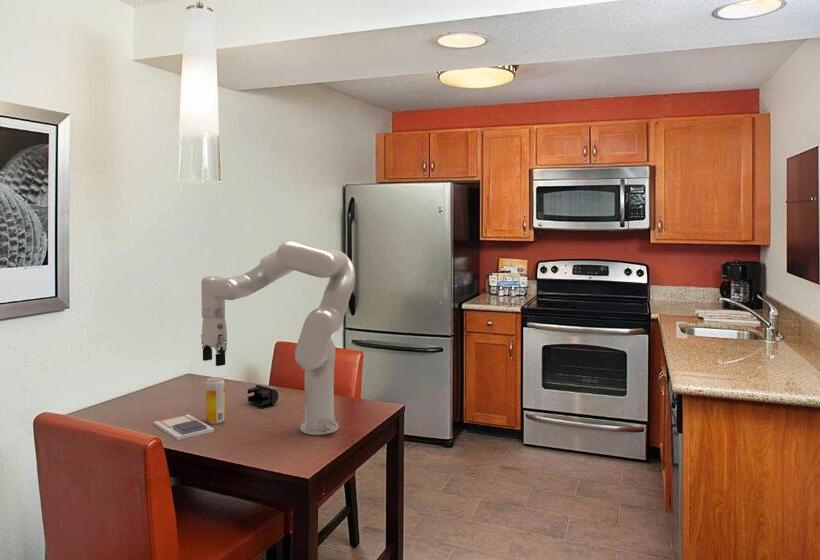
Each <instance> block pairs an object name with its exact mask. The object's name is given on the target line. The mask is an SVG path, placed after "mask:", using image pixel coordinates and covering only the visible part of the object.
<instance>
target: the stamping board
mask: <svg viewBox="0 0 820 560" xmlns="http://www.w3.org/2000/svg"><path fill="white" fill-rule="evenodd" d="M153 425H154V426H155V427H157V428H158V429H159V430H161V431H163V432H164V433H166V434H167V435H169V436H170V437H172V438H174V439H175V440H176V441H180V440H185V439H188V438H192V437H193V438H194V437H197V436H201V435H206V434H209V433H210V434H211V433H214V432H215V428H214V427H212V426H210V425H208V424H207V423H204V422H203V421H201V420H199V419H197V418H196V417H194V416H192V415H191V414H183V415H180V416H173V417H169V418H165V419H164V418H163V419H161V420H156V421H153Z"/></svg>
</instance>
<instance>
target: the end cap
mask: <svg viewBox="0 0 820 560" xmlns="http://www.w3.org/2000/svg"><path fill="white" fill-rule="evenodd" d="M252 393H253V394H252ZM247 394H252V395H249V396H247V401H248V404H249V406H252V407H254V408H258V409H261V410H265V408H266V409H269V408H272V407H274V405H275V404H276V403H277V402H278V401H279V393H278V391H277V390H276V389H274V388H271V387H267V386H264V385H260V384H255V387H251V388H248V389H247Z"/></svg>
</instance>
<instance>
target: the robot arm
mask: <svg viewBox="0 0 820 560" xmlns="http://www.w3.org/2000/svg"><path fill="white" fill-rule="evenodd" d="M259 261H260V262H259V264H258V265H256V266H255V267H254V268H252V269H250V270H248V271H246V272H244V273H243V274H241V275H236V276H231V277H225V278H224V277H222V276H216V275H215V276H212V275H210V276H204V277H202V279H201V318H202V325H201V327H202V328H201V334H200V338H201V345H202V346H201V348H202V361H203V362H205V361H212V360H213V348H214V349H215V353H216V354H215V367H222V366H225V365H226V353H227V348H228V347H227V345H228V333H227V331H228V330H227V322H226V301H234V300H238V299H242V298H246V297H249V296H250V295H252V294H254V293H256V292H258V291H260V290H262V289H264V288H265V287H267V286H268V285H270V284H272V283H274V282H275V281H277V280H279V279H280V278H283V277H285V276H286V275H288V274H290V273H292V272H294V271H296V272H299V273H302V274H306V275H309V276H311V277H312V276H313V277H317V278H320V279H327V278H328V279H329V280H328V283H327V284H326V286H325V289H324V292H323V296H322V297H321V302H320V304H319V306H318V307H316V308H315V309H313V310H311V311H310V312H309V313H308V314H307V316H306V318H305V320H304V322H303V325H302V327H301V331H300V334H299V338H298V340H297V343H296V347H295V351H294V359H295V362H296V364H297V365H298V366H299V368H301V369H302V370H304V422H303V423H302V424H301V425H300V427H299V430H300V431H301V433H303V434H305V435H310V436H322V435H323V436H324V435H330V434H333V433H335V432H337V431H338V430H339V423H338V422H336V418H335V415H334V413H335V412H334V411H335V409H334V408H335V407H334V405H335V403H334V402H335V398H334V397H335V395H334V393H335V392H334V388H335V387H334V386H335V385H334V382H335V379H334V378H335V376H334V374H335V361H336V346H335V343H334V340H333V339H332V335H333V334H336V333H337V332H338V331H339V330H340V329H341V327H342V325H343V321H344V317H345V315H346V311H347V309H348V305H349V302H350V299H351V296H352V292H353V289H354V286H355V282H356V271H355V267H354V264H353V262H352V260H351V259H350V258H349V257H348V255H347V254H346V253H344V252H343V251H341V250H339V249H325V250H322V249H319V248H314V247H311V246H310V245H309V244H308V242H307V241H304V240H301V239H295V240H286V241H285V242H282V243H281V244H280V245H279V247H278V248H277V249H276V250H274V251H273V252H270V253H269V254H267V255H266V256H263V257H262V258H261V259H260V260H259Z"/></svg>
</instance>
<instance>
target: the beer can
mask: <svg viewBox="0 0 820 560" xmlns="http://www.w3.org/2000/svg"><path fill="white" fill-rule="evenodd" d="M225 388H226V387H225V380H224V377H222V376H220V377H219V376H212V377H209V378H207V379H206V382H205V398H206V399H205V401H206V402H205V403H206V404H205V405H206V410H205V411H206V421H207V422H208V424H210V425H219V424H222V423H224V421H225V420H226V391H225V390H226V389H225Z"/></svg>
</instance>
